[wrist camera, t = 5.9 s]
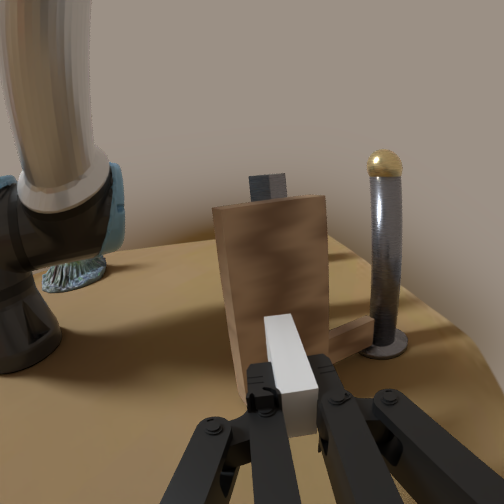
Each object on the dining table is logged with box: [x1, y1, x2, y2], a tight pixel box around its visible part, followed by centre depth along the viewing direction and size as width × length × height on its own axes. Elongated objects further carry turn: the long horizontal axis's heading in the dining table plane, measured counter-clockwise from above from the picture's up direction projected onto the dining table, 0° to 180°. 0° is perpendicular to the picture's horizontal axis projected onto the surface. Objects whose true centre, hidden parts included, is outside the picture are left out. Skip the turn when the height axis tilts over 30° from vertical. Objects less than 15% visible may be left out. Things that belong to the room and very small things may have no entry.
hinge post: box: [359, 149, 408, 360], centre depth 27 cm, size 6×6×20 cm
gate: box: [212, 195, 375, 406], centre depth 24 cm, size 14×2×16 cm, turn 114°
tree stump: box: [42, 255, 107, 293], centre depth 65 cm, size 18×20×18 cm
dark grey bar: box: [249, 173, 287, 202], centre depth 37 cm, size 6×6×18 cm
